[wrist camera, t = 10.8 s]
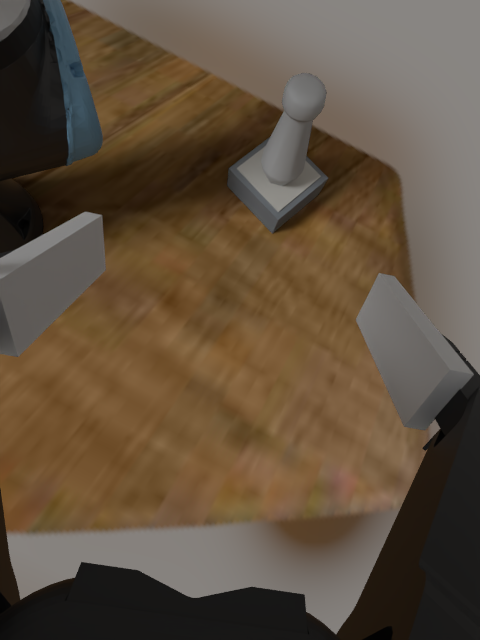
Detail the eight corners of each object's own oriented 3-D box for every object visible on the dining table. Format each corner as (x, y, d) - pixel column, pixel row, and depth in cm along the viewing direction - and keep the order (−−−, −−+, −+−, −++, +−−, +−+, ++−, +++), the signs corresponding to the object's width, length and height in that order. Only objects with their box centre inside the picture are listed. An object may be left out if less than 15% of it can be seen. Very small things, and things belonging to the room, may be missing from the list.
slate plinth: (227, 185, 46) (228, 167, 42) (274, 149, 48) (280, 127, 44) (272, 233, 45) (278, 219, 41) (318, 194, 47) (328, 177, 43)
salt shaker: (275, 146, 43) (302, 50, 30) (307, 170, 43) (348, 84, 30) (250, 174, 42) (267, 86, 29) (283, 199, 42) (314, 122, 29)
